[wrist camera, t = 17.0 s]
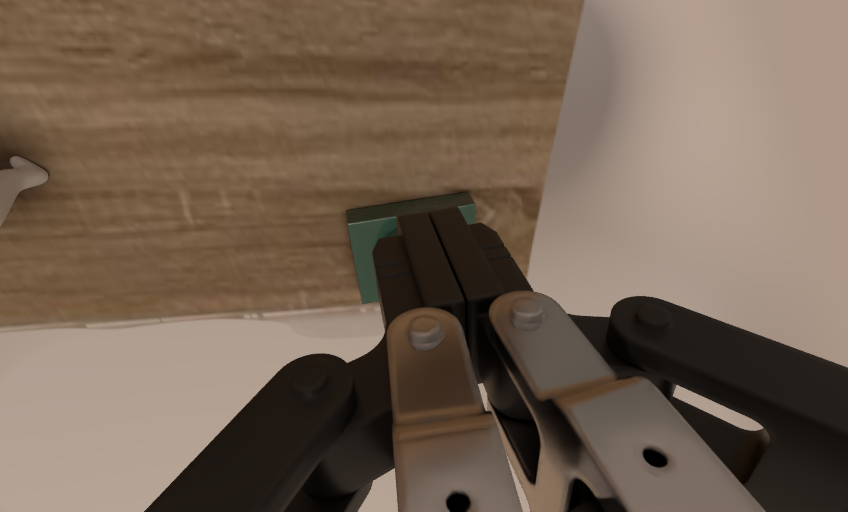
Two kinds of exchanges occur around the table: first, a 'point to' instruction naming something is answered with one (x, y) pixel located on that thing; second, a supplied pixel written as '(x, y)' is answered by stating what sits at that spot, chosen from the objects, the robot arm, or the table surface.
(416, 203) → the button base
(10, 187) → the figurine
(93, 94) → the table surface
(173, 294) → the table surface
